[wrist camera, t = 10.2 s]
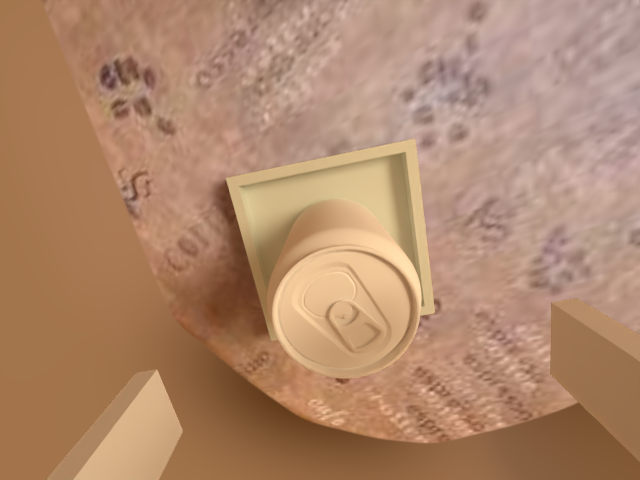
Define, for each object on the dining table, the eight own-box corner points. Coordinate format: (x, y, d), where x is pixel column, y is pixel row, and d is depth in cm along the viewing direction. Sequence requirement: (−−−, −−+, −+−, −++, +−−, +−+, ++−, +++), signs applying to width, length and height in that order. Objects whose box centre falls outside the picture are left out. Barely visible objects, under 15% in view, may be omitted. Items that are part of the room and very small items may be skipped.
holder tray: (233, 176, 25) (225, 178, 23) (407, 139, 24) (415, 138, 22) (274, 328, 29) (271, 341, 27) (427, 302, 28) (434, 313, 26)
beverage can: (343, 176, 24) (361, 198, 13) (402, 250, 26) (463, 327, 15) (269, 238, 26) (226, 306, 14) (329, 304, 28) (332, 412, 16)
